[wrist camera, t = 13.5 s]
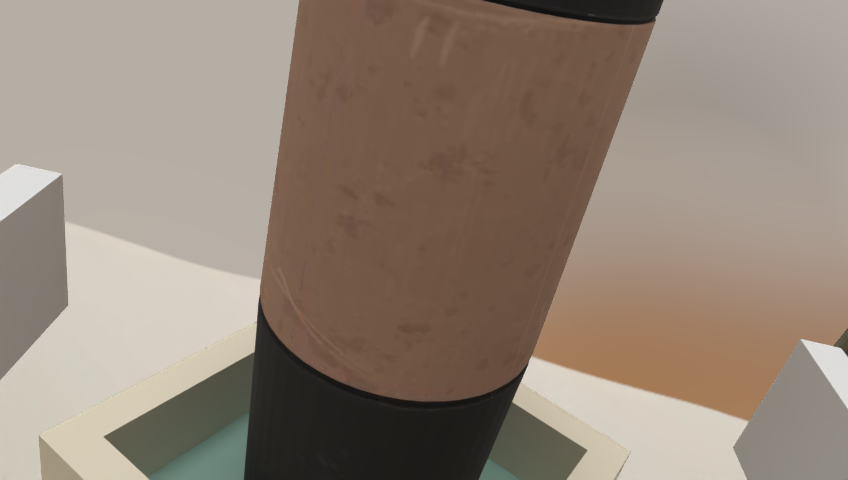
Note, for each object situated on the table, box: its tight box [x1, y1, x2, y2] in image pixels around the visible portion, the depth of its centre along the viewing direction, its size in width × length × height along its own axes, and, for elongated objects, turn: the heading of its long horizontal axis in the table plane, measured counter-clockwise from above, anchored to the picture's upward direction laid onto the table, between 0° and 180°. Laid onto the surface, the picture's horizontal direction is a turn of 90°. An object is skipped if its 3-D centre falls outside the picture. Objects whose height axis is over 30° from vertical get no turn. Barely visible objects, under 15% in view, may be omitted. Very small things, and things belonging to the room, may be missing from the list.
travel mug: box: [244, 0, 663, 480], centre depth 18 cm, size 8×8×20 cm
